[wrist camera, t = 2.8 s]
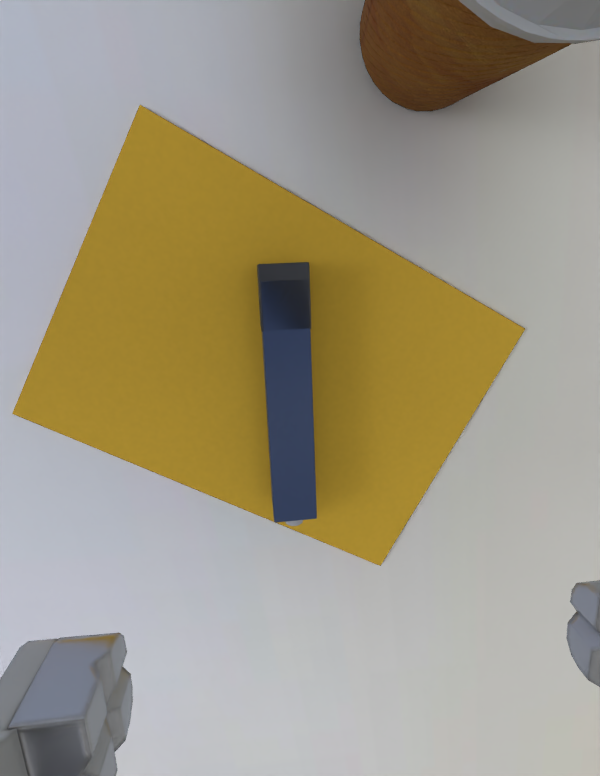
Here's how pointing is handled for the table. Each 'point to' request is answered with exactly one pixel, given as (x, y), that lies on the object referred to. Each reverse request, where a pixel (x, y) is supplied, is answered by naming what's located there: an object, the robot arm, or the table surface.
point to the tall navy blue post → (288, 388)
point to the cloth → (256, 343)
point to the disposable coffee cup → (464, 43)
